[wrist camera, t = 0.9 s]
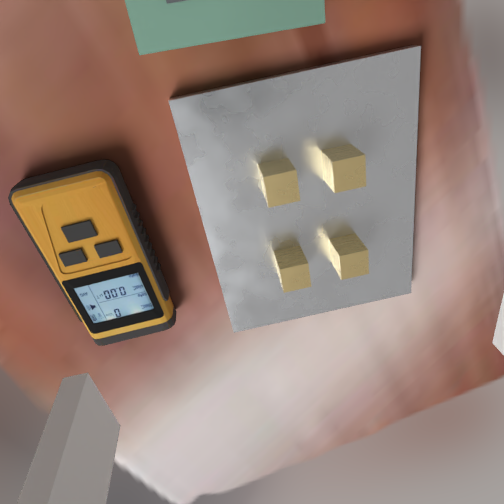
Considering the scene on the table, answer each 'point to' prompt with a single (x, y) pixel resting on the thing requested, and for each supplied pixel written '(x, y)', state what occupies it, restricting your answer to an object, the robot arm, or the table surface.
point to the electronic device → (96, 249)
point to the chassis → (307, 184)
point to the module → (214, 20)
